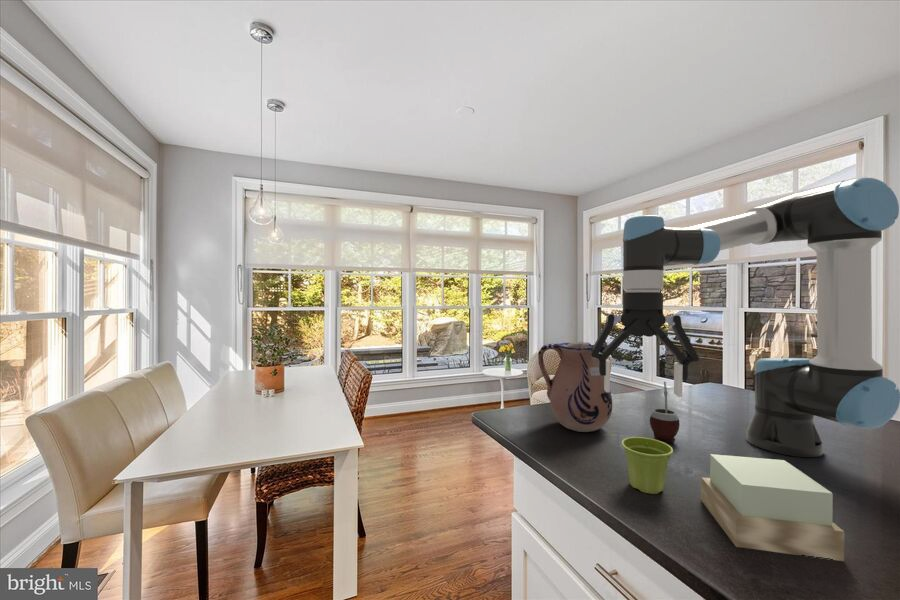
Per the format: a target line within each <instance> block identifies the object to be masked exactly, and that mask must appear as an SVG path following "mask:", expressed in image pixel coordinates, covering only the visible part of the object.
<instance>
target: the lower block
mask: <svg viewBox="0 0 900 600" xmlns="http://www.w3.org/2000/svg"><path fill="white" fill-rule="evenodd" d="M700 481H701V483H700V484H701V485H700V486H701V487H700V491H701V492H700V495H701V496H700V501H701V502H702V503H703V505H704V506H705V508H706V510H708V512H709V513H710V514H711V516H713V518H714V520H715V521H716V522H717V523H718V525H719V526H720V527H721V529H722V530H723V531H724V533H725V534H726V536H727V537H728V538H729V539H730V541H731V542H732V544H733V545H734V546H735V547H736V548H741V549H742V548H743V549H752V550H758V551H766V552H773V553H778V554H779V553H781V554H788V555H794V556H795V555H796V556H801V555H805V556H804V557H808V556H814V557H813V558H816V557H823V558H830V559H833V560H832V561H839V562H845V531H844V530H843V529H842V528H841V527H839V526H838V525H837V524H836V523H834V522H833V521H832V526H828V525H820V524H811V523H802V522H793V521H785V520H776V519H767V518H759V517H750V516H742V515H741V514H740V513H739V512H738V511H737V510H736V509H735V507H734V506H733V505H732V504H731V503H730V502H729V501H728V500H727V499H726V497H725V496H724V495H723V494H722V493H721V492H720V491H719V490H718V488H717V487H716V486H715V485H714V484H713V483H712V482H711V481H710V477H701V478H700ZM806 555H807V556H806ZM823 558H822V559H823ZM830 559H829V560H830Z"/></svg>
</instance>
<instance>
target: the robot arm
mask: <svg viewBox="0 0 900 600" xmlns="http://www.w3.org/2000/svg"><path fill="white" fill-rule="evenodd" d="M899 212H900V205H899V201H898V198H897V196H896V194H895V192H894V191H893V190H892V188H891V187H889V186H888V184H887V183H885V182H884V181H882V180H880V179H877V178H874V177H860V178H855V179H848V180H841V181H839V182H837V183H832V184H829V185H826V186H821V187H817V188H814V189H810V190H806V191H802V192H797V193H794V194H792V195H789V196H786V197H785V196H784V197H783V198H780V199H778V200H775V201H772V202H769V203H767V204H763V205H760V206H756V207H752V208H749V209H748V210H747V211H746V212H745V213H742V214H739V215H736V216H731V217H726V218H722V219H718V220H714V221H710V222H705V223H702V224H697V225H693V226H689V227H669V226H668V227H666V224H665V219H664V217H663V216H661V215H655V214H651V215H650V214H647V215H638V216H633V217H630V218H628V219H626V221H625V222H624V224H623V225H624V227H623V232H622V233H623V236H622V242H623V243H622V247H623V249H622V250H623V251H622V256H623V258H622V261H623V263H622V266H623V267H622V268H623V269H622V270H623V277H622V289H623V290H625V292H623V294H622V312H621V315H617V314H616V315H615V314H612V313H608V314H607V315H606V318H605V323H604V326H603V328H602V330H601V331H600V333H599V335H598V337H597V339H596V341H595V343H594V344H593V345H594V346H593V348H592V350H591V352H590V354H591V356H592V357H595V358H597V359H599V373H600V375H603V376H604V390H605V391H606V392H610V391H611V382H610V381H611V361H610V360H609V359H608V358H609V357H610V356H611V355H612V354H613V353H614V352H615V351H616V350H617V348H619V347H620V345H622V344H623V342H625V340H626V339H627V338H629V337H630V336H631V335H632V336H634V337H642V336H645V337H647V338H649V337H652V336H653V337H654V336H655V337H656V338H657V339H658V340H659V341H660V342H661V343H662V344H663V345H664V347H665V348H666V349H667V350H668V351H669V352H670V353H671V354H672V355H673V356H674V358H675V359H676V360H677V361H678V362H674V363H673V394H674V395H675V396H677V397H679V398H683V381H686V380H688V378H689V376H688V375H689V373H688V372H689V371H688V370H689V365H690V364H691V363H693V362H698V361H699V359H700V357H699V355H698V354H697V352H696V350H695V348H694V346H693V344H692V342H691V341H690V338H689V337H688V335H687V333H686V331H685V330H684V328H683V326H682V317H681V316H680V315H678V314H671V315H667V316H665V315H664V293H663V292H661V291H662V290H663V289H664V267H670V266H678V265H696V266H697V265H705V264H710V263H711V262H714V260H716V259H717V257H718V255H719V253H720V251H723V250H727V249H728V250H729V249H733V248H736V247H740V246H744V245H748V244H753V245H757V246H758V245H759V246H760V245H765V244H770V243H779V242H791V241H792V242H794V241H795V242H796V241H806V240H807V246H808V247H809V248H811V249H812V250H813V251H815V253H816V311H817V312H816V314H817V316H816V317H817V318H816V319H817V321H816V322H817V325H816V326H817V327H816V329H817V331H816V333H817V354H816V355H815V356H814V357H813V358H812V357H811V358H807V357H805V358H804V357H801V358H800V357H768V358H767V357H766V358H765V357H763V358H759V359H758V360H756V362H755V368H754V369H755V370H754V373H753V374H754V413H753V415H752V418H751V420H750V422H749V424H748V426H747V429H746V438H745V439H746V441H747V442H749V444H752V445H754V446H755V447H757V448H760V449H762V450H766V451H769V452H773V453H777V454H780V455H786V456H791V457H799V458H818V457H821V456H823V454H824V445H823V444H824V443H823V441H822V439H821V437H820V436H821V435H820V434H819V431H818V429H817V426H816V423H815V420H814V416H815V417H817V418H821V419H826V420H828V421H832V422H836V423H839V424H840V425H843V426H846V427H847V426H848V427H849V426H850V427H854V428H859V429H862V430H873V429H878V428H881V427H883V426H884V425H885V424H887V423H889V422H890V420H891V419H893V417H895V415H896V413H897V411H898V409H899V407H900V389H899V388H898V386H897V384H896V383H895V382H894V381H893V380H891V379H889V378H888V377H883V376H884V375H883V374H884V371H883V366H882V365H881V364H880V363H879V362H877V361H876V360H875V359H873V332H872V331H873V328H872V327H873V320H872V319H873V317H872V316H873V315H872V312H873V309H872V303H873V302H872V298H873V297H872V296H873V295H872V290H873V289H872V249H873V247H874V246H876V245H877V244H878V243H880V242H881V241H882V237H883V236H882V232H883V231H885V230H886V229H889V228H890V227H892V226H893V225H894V224H895V223H896V220H897V219H898V217H899ZM618 322H621V324H622V326H623V328H622V329H621V330H620V331H619V333H618V334H617V336H615V337H614V339H612V340H611V342H610V343H609V344H607V346H606V347H605V348H604V350H603V351H602V352H601V353H599V352H600V350H601V348H602V346H604V344H605V342H606V340H607V338H608V337H609V336H610V333H611V332H612V329H613V328H614V326H615V325H617V324H618ZM665 323H667V325H669V326H670V327H672V330H673V332H674V334H675V337H676V338H677V340H678V341H679V344H680V345H681V347H682V350H683V351H684V353H685V355H684V353H683V352H682V351H681V350H680V349H679V348H678V347H677V346H676V345H675V343H674V342H673V341H672V340H671V339H670V338H669V337H668V336H667V334H666V332H664V331H663V329H661V328H662V327H663V326H664V324H665Z"/></svg>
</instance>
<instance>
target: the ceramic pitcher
mask: <svg viewBox="0 0 900 600" xmlns="http://www.w3.org/2000/svg"><path fill="white" fill-rule="evenodd" d="M593 346H594V344H591V342H584V341H579V342H570V341H569V342H561V343H546V344H544V345H542V346H541V348H540V349H539V351H538V354H537V356H538V357H537V358H538V365H539V368H540V369H539V370H540V371H541V374H542V376H543V379H544V381H545V383H546V386H547V388H546V389H547V390H546V395H547V398H548V400H549V402H550V403H549V404H550V408H551V411H552V414H553V416H554V418H555V419H556V421H557V422H558V423H559V424H560V425H562V426H563V427H565V428H566V429H568V430H571V431H574V432H579V433H589V432H596V431H597V430H600V429H601V428H603V426H605V425H606V424H607V422H609V420H610V417H611V415H612V413H613V399H612V398H613V396H612V392H611V390H610V392H606V391H605V390H604V376H603V375H600V373H599V359H597V358H595V357H592V356H591V354H590V352H591V350H592V348H593ZM605 348H606V347H605V345H603V346H602V348H601V350H600V352H599V353H601V352H602V351H603V350H604V349H605ZM549 350H554V351H555V352H556V353H557V354H558V357H559V358H560V359H559V363H558V366H557V369H556V372H555V374H554V376H553V377H552V378H551V377H550V375H549V372H548V370H547V368H546V366H545V362H544V354H545V353H546V352H547V351H549Z"/></svg>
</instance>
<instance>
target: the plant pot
mask: <svg viewBox="0 0 900 600" xmlns="http://www.w3.org/2000/svg"><path fill="white" fill-rule="evenodd" d="M621 445H622V447H623V450H624V453H625V456H626V463H627V471H628V476H629V478H628V479H629V485H630V486H631V487H632V488H634V489H637V490H639V491H640V492H641V493H645V494H652V495H657V494H659V493H661V492H663V491H664V486H665V480H666V474H667V467H668V463H669V460H670V459H671V455H672V454H673V453H674V449H673V447H672V445H670V444H668V443H666V442H661V441H658V440H655V438H654V439H653V438H650V437H649V438H648V437H644V436H643V437H642V436H638V437H637V436H631V437H626V438H623V440H622V441H621Z"/></svg>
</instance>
